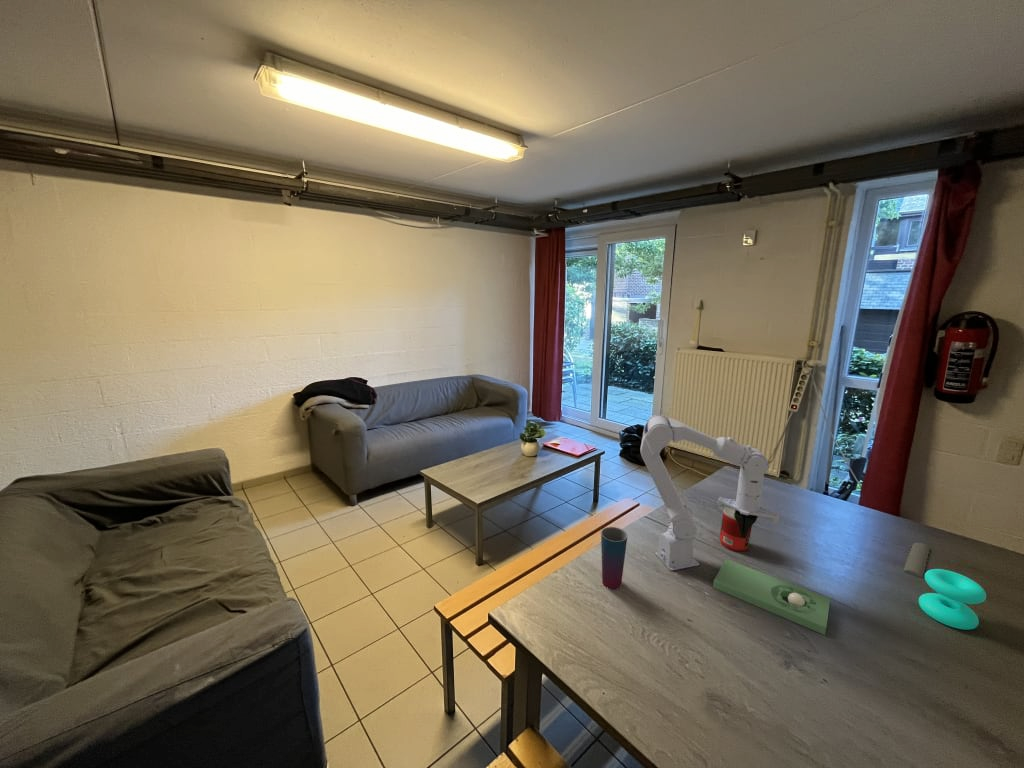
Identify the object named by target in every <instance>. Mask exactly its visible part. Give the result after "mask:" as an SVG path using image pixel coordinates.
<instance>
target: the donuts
mask: <svg viewBox="0 0 1024 768" xmlns="http://www.w3.org/2000/svg"><path fill="white" fill-rule="evenodd" d="M924 581H925V582H926V584H927V586H929V587H930V588H931V589H932V590H933V591H935V592H936V593H935V592H927V593H923V594H921V595H920V596H919V598H918V605H919V607H920V608H921V610H922V611H923V612H924V613H925V614H926V615H927V616H929V617H930V618H932V619H933V620H935V621H937V622H940V623H941V624H943V625H946V626H948V627H951V628H955V629H959V630H966V631H967V630H974V629H976V628H977V627H978V626H979V625H980V624H979V623H980V620H979V617H978V615H977V614H976V613H975V611H974V610H973V609H971V607H969V606H968V605H966V604H969V605H974V604H975V605H977V604H982V603H983V602H984V601H986V599H987V592H986V591H985V589H984V588H983V587H982V586H981V585H980V584H979V583H977V581H975V580H973V579H971V578H969V577H967V576H965V575H963V574H960V573H958V572H955V571H952V570H947V569H943V568H942V569H941V568H933V569H929V570H927V571H926V572H924Z"/></svg>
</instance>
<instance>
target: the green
mask: <svg viewBox="0 0 1024 768" xmlns="http://www.w3.org/2000/svg"><path fill="white" fill-rule="evenodd" d="M723 561H724V562H723V563H722V564H721V567H720V569H719V571H718V572H717V574H716V576H715V578H714V579H713V585H712V588H714V589H716V590H718V591H721V592H722V593H725V594H727V595H730V596H732V597H735V598H737V599H740V600H741V601H744V602H746V603H749V604H751V605H753V606H756V607H758V608H760V609H762V610H766V611H768V612H770V613H773V614H774V615H776V616H778V617H779V616H780V618H781V617H782V618H784V619H785V620H789V621H790V622H793V623H795V624H798V625H801V626H802V627H805V628H807V629H810V630H812V631H815V632H817V633H819V634H821V635H824V636H825V635H826V632H827V626H828V619H829V610H830V602H831V597H828V596H825V595H822V594H819V593H816V592H814V591H811V590H809V589H806V588H803V587H801V586H798V585H796V584H794V583H790V582H788V581H785V580H782V579H780V578H777V577H774V576H772V575H769V574H766V573H764V572H761V571H759V570H755V569H754V568H751V567H748V566H745V565H742V564H740V563H737V562H735V561H732V560H729V559H727V558H725V559H724V560H723ZM791 593H798V594H800V595H801V596H802V597H803V598H804V601H805V605H804V607H797V606H793V605H791V604H789V602H787V601H786V600H785V599H783V598H787V599H788V596H789V594H791Z"/></svg>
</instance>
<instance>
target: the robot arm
mask: <svg viewBox="0 0 1024 768" xmlns="http://www.w3.org/2000/svg"><path fill="white" fill-rule="evenodd" d="M683 440H684V441H687V442H690V443H692V444H695V445H698V446H701V447H703V448H706V449H708V450H711V452H712V455H713V456H714V457H716V458H719V459H722V460H723V461H726V462H728V463H731V464H733V465H735V466H737V467H738V466H739V467H740V469H739V475H738V482H737V491H736V498H735V499H731V498H725V497H722V496H719V498H718V499H717V506H718V507H724V508H726V507H728V508H731V509H734V510H735V513H734V517H735V519H736V521H737V523H738V526H739V531H740V537H742V538H745V539H746V537H747V534H748V531H749V529H750V528H751V526H752V527H753V525H754V524H755V523H756V522H757V519H758V517H759V518H761V519H764V520H768V521H771V522H772V523H774V524H778V522H779V516H780V514H779V513H776V512H773V511H771V510H770V509H767V508H765V507H763V506H761V501H762V495H763V486H764V481H765V480H764V477H765V474H766V473H767V472H768V471H769V470H770V467H771V466H770V465H769V461H768V459H767V458H766V457H765V455H764V454H763V452H761V451H760V450H759V449H758V448H756V447H755V446H753V445H749V444H747V445H744V444H742V443H740V442H737V441H735V439H734V438H733V437H731V436H728V437H725V436H720V437H716V438H715V437H714V436H711V435H709V434H706V433H704V432H703V431H700V430H698V429H696V428H694V427H691V426H690V425H687V424H685V423H683V422H681V421H678V420H677V419H675V418H671V417H667V416H665V415H662V414H654V415H652V416H650V417H649V418H648V420H647V421H646V423H645V424H644V427H643V432H642V438H641V444H640V448H639V449H640V455H641V458H642V460H643V462H644V464H645V466H646V468H647V471H648V473H649V474H650V478H651V479H652V480H653V482H654V485H655V486H656V489H657V491H658V493H659V495H660V496H661V499H662V502H663V503H664V505H665V507H666V510H667V513H668V516H669V518H670V524H669V526H668V528H667V531H665V532H663V533H661V534H660V535H659V536H658V539H657V551H656V552H655V556H656V557H658V559H660V561H661V562H662V563H663V564H664V565H665V566H666V567H667V568H668V569H669V570H670V571H676V570H681V569H685V568H687V569H688V568H692V567H693V568H694V567H697V566H700V563H699V562H698V561H697V560H696V559H695V558H694V548H695V538H696V534H697V527H696V524H695V521H694V517H693V511H692V510H691V508H690V507H689V506H687V505H686V504H685V503H684V501H683V499H682V498H681V496H680V495H679V491H678V490H677V487H676V486H675V483H674V482H673V480H672V477H671V476H670V473H669V472H668V470H667V467H666V465H665V464H664V461H663V459H662V457H661V452H662V450H663V449H664V448H665V447H666V446H667V445H669V444H670V442H672V441H673V443H674V444H675V443H677V442H682V441H683ZM751 529H752V528H751Z"/></svg>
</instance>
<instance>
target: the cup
mask: <svg viewBox="0 0 1024 768" xmlns="http://www.w3.org/2000/svg"><path fill="white" fill-rule="evenodd" d="M600 535H601V536H600V537H601V538H600V540H601V541H600V542H601V546H600V547H601V582H602V583H601V584H602V585H603V586H604V587H605V588H607V587H608V588H607V589H609V588H611V589H610V590H613V589H614V590H618V589H620V588H621V587H620V586H622V580H623V573H624V564H625V560H626V559H625V558H626V550H627V545H628V543H627V542H628V533H627V532H626V531H625V530H624V529H622V528H620V527H616V526H607V527H605V528H603V529H602V530H601V531H600ZM617 588H618V589H617Z"/></svg>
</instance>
